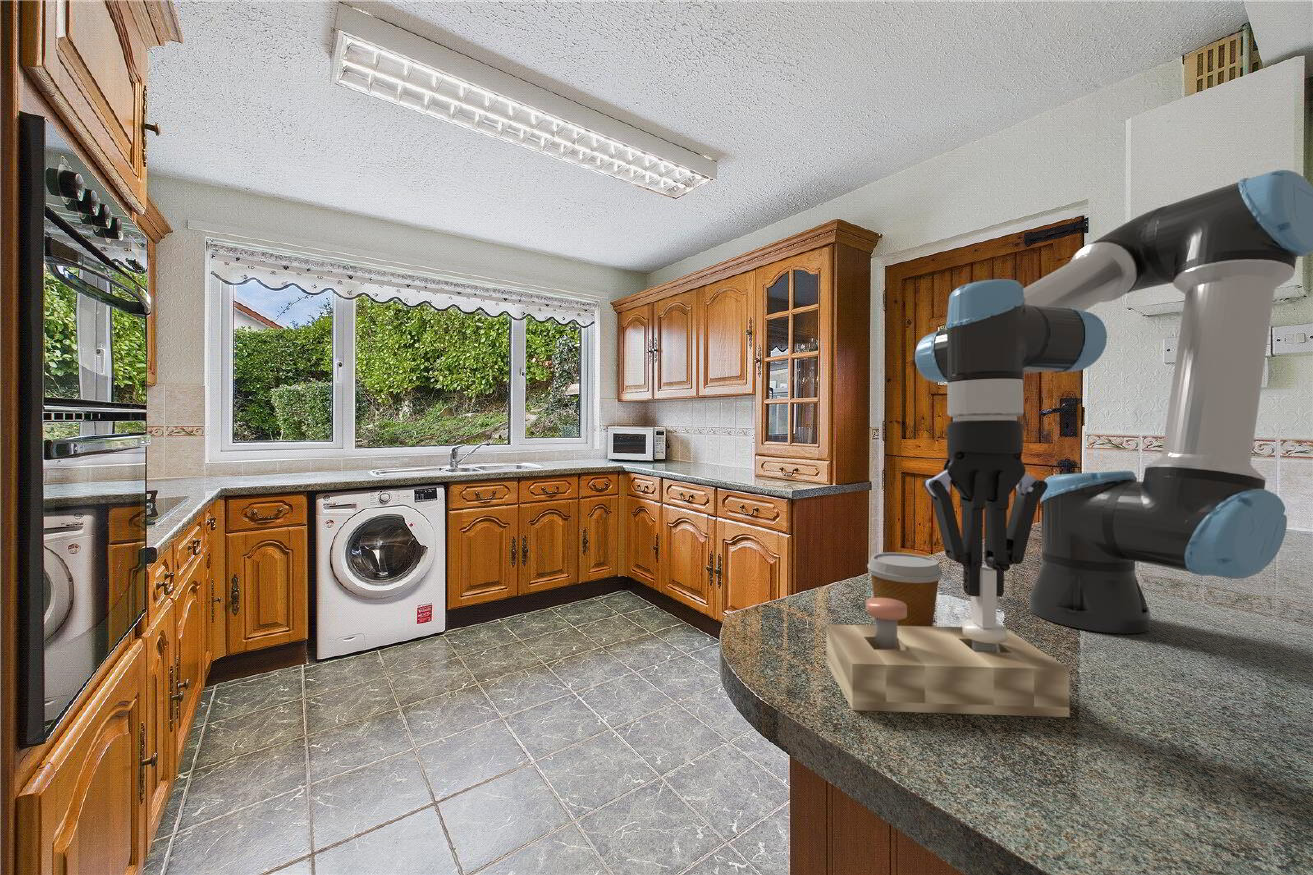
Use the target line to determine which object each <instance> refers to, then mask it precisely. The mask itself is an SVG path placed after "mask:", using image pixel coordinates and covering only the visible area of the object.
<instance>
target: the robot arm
mask: <svg viewBox="0 0 1313 875" xmlns="http://www.w3.org/2000/svg"><path fill="white" fill-rule="evenodd" d="M1312 253H1313V186H1312V184H1311V183H1310V182H1309V181H1308V179H1306V178H1305V177H1304V176H1302V175H1301V174H1299V173H1298V172H1296V171H1292V170H1289V169H1288V170H1287V169H1278V170H1272V171H1270V172H1266V173H1263V174H1259V175H1256V176H1252V177H1244V178H1242V179H1239V181H1238V182H1234V183H1232V184H1229V185H1226V186H1222V187H1220V188H1216V189H1213V190H1210V191H1208V192H1204V193H1201V194H1198V195H1195V196H1192V197H1190V198H1186V199H1182V200H1180V201H1177V202H1175V203H1171V204H1168V205H1164V206H1160V207H1158V208H1155V209H1153V210H1150V211H1147V212H1145V213H1143V214H1141V215H1139V216H1136V217H1135V218H1133V219H1131V220H1129V221H1128V222H1126V223H1124V224H1122V225H1120V226H1119V227H1116V228H1115V229H1113V230H1112V231H1109V232H1108V233H1106V234H1105V235H1103V236H1101V237H1099V238H1098V239H1096V240H1094V241H1093V242H1091V243H1089V244H1087V245H1085V246H1084V247H1082V248H1081V249H1079V250H1078V251H1076V252H1075V254H1074V255H1073V257H1072V258H1071V259H1070V262H1068V263H1066V264H1065V265H1062V267H1061V266H1060V268H1058V269H1056V270H1054V271H1053V272H1051V273H1049V274H1047V275H1045V276H1043V277H1042V278H1040V279H1038V280H1036V281H1034V282H1032V283H1031V284H1029V285H1027V286H1026V287H1024V286H1023V285H1022V284H1021V283H1020V282H1019V281H1018V280H1014V279H1008V278H1007V279H1006V278H997V279H986V280H980V281H973V282H971V283H967V284H963V285H960V286H959V287H957V288H956V289H955V288H954V290H953V291H951V293H950V295H949V297H948V305H947V314H946V315H947V316H946V322H945V328H946V329H940V330H937V331H936V332H933V333H928V334H927V335H925V336H924V337H922V339H920V341H919V342H918V344H917V346H916V349H915V353H914V362H915V364H916V367H917V370H918V372H919V374H920V375H921V376H922V377H923V378H924V379H925V380H927V381H929V382H933V383H944V382H945V383H946V382H947V388H946V391H947V392H946V394H947V395H946V396H947V397H946V398H947V402H946V403H947V404H946V406H947V408H946V413H947V416H948V417H949V418H950V417H951V418H952V421H949V422H948V424H946V452H947V459H946V461H945V463H944V465H943V471H942V472H940V473H939V474H937V475H936V476H933V477H932V478H925V479H924V480H923V482H922V485H923V487H924V489H925V491H926V492H927V493H928V494H929V495H928V496H930V498H931V500H932V504H933V508H934V513H935V515H936V520H937V524H938V525H937V526H938V529H939V532H940V537H941V542H942V544H943V549H944V553H945V555H946V557H947V558H948V559H950V560H952V561H954V562H955V563H958V564H960V565H962V570H963V572H962V573H963V575H962V577H963V578H962V579H963V580H962V581H963V582H962V583H963V587H962V589H963V591H964V593H965V594H967V595H968V596H970V619H971V620H972V621H973V622H975V623H976V624H978V625H979V626H981V627H982V628H996V623H997V598H1000V597H1003V595H1004V593H1005V572H1008V571H1009V570H1010V568H1011V565H1019V564H1022V563H1023V561H1024V557H1025V553H1026V550H1027V546H1028V542H1029V539H1030V534H1031V530H1032V527H1033V523H1034V520H1035V515H1036V511H1037V507H1038V504H1039V501H1040V504H1041V565H1040V568H1039V570H1038V573H1037V575H1036V578H1035V580H1034V583H1033V585H1032V588H1031V591H1030V593H1029V596H1028V608H1029V611H1030V612H1031V613H1033V615H1036V616H1037V617H1039V618H1042V619H1044V620H1047V621H1049V622H1052V623H1056V624H1058V625H1063V626H1066V627H1069V628H1074V629H1075V628H1076V629H1079V630H1084V631H1085V630H1086V631H1091V632H1098V633H1107V634H1110V633H1111V634H1123V635H1124V634H1125V635H1126V634H1127V635H1128V634H1130V635H1132V634H1141V633H1145V632H1148V631H1150V630H1151V625H1152V624H1151V622H1152V620H1151V618H1152V617H1151V611H1150V609H1149V607H1148V605H1147V601H1146V599H1145V596H1144V593H1143V591H1142V588H1141V586H1140V584H1139V581H1138V578H1137V575H1136V563H1137V562H1138V563H1143V564H1149V565H1153V566H1158V567H1163V568H1169V569H1173V570H1178V571H1184V572H1188V573H1191V574H1194V575H1200V576H1204V577H1208V576H1209V577H1210V576H1211V577H1217V578H1225V579H1230V580H1231V579H1232V580H1239V579H1246V578H1251V577H1253V576H1256V575H1257V574H1259V573H1260V572H1262V571H1263V570H1264V569H1265V568H1266V567H1268V566H1269V565H1270V564H1271V563H1272V562H1273V560H1274V559H1275V557H1277V555H1278V553H1279V551H1280V549H1281V547H1282V545H1283V543H1284V539H1285V536H1286V531H1287V526H1288V516H1287V515H1286V514H1285V511H1286V506H1285V504H1284V501H1282V499H1281V498H1280V497H1279V496H1278V495H1277V494H1276V493H1274V492H1270V491H1269V490H1268V489H1266V488H1265V486H1266V480H1267V479H1266V477H1265V476H1263V475H1262V473H1260V472H1259V471H1257V470H1256V468H1254V467H1253V465H1252V463H1251V462H1252V455H1253V448H1254V440H1255V433H1256V427H1257V419H1258V411H1259V405H1260V398H1261V390H1262V384H1263V376H1264V369H1265V363H1266V362H1265V361H1266V354H1267V346H1268V339H1269V333H1270V327H1271V320H1272V319H1271V318H1272V312H1273V305H1274V297H1275V290H1276V289H1278V287H1280V286H1281V285H1284V284H1285V283H1287V282H1288V281H1290V280H1291V279H1292V278H1293V277H1294V275H1295V269H1296V265H1297V264H1296V263H1297V259H1298V257H1308V256H1309V255H1310V254H1312ZM1167 284H1172V285H1173V286H1174V288H1176V289H1177V290H1179V292H1181V293H1183V294H1184V301H1183V302H1184V304H1183V308H1182V316H1181V322H1180V329H1179V335H1178V341H1177V347H1176V355H1175V364H1174V369H1173V376H1172V383H1171V389H1170V396H1169V403H1168V410H1167V416H1166V423H1165V432H1164V435H1163V444H1162V449H1161V450H1162V452H1161V456H1160V457H1159V458H1158V459H1156V460H1154V461H1152V462H1150V463H1149V464H1147V465H1145V468H1144V474H1143V475H1144V476H1143V479H1142V480H1143V481H1138V478H1137V476H1136V473H1135V472H1134V471H1132V470H1119V471H1117V470H1116V471H1101V472H1099V471H1098V472H1081V473H1080V472H1079V473H1078V472H1077V473H1063V474H1061V473H1060V474H1053V475H1049V476H1048V477H1046V478H1045V479H1044V480H1039V479H1036V478H1035V477H1033V476H1031V475H1030V474H1028V473H1027V469H1026V466H1025V464H1024V462H1023V460H1022V453H1023V451H1024V423H1022V421H1021V420H1020V421H1019V420H1018V417H1019V416H1022V415H1023V414H1024V374H1032V373H1040V372H1041V373H1043V372H1053V373H1056V374H1060V373H1061V374H1062V373H1067V372H1078V371H1082V370H1085V369H1087V368H1089V367H1091V366H1092V365H1093V364H1095V363H1096V361H1098V360H1099V359H1100V358H1101V357H1102V355H1103V353H1104V351H1105V349H1106V347H1107V343H1108V342H1107V340H1108V332H1107V328H1106V326H1105V324H1104V322H1103V321H1102V319H1101V318H1100V317H1099V316H1097V315H1096V314H1094V313H1092V312H1089V311H1087V310H1089V309H1090V308H1092V307H1093V306H1095V305H1097V304H1099V303H1106V302H1107V303H1108V302H1112V301H1115V300H1117V299H1119V298H1122V297H1123V296H1125V295H1128V294H1130V293H1132V292H1137V291H1141V290H1144V289H1148V288H1149V289H1150V288H1153V287H1158V286H1164V285H1167ZM950 484H951V485H952V486H953V487H954V489H955V491H956V492H957V493H958V494H959V505H960V507H961V531H960V527H959V524H958V520H957V516H956V512H955V509H954V502H953V500H952V499H953V498H952V497H951V495H950V491H951V485H950ZM1015 488H1016V490H1017V492H1016V494H1015V496H1014V499H1013V503H1012V507H1011V510H1010V514H1009V518H1008V522H1007V516H1008V515H1007V511H1008V510H1009V508H1010V496H1011V494H1012V492H1013V490H1014V489H1015ZM983 514H984V515H983ZM983 523H984V524H983ZM983 525H984V526H983ZM983 532H984V534H983ZM983 536H984V538H983ZM983 542H984V543H983ZM983 544H984V545H983ZM983 546H984V548H983ZM983 549H984V551H983ZM983 553H984V556H983ZM983 557H984V558H983ZM983 559H984V560H983ZM983 561H984V563H985V564H983Z"/></svg>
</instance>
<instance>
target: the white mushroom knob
mask: <svg viewBox="0 0 1313 875" xmlns="http://www.w3.org/2000/svg"><path fill="white" fill-rule="evenodd" d="M961 627H962V633H963V635H964V636H966V637H967V638H969V639H972V650H973V651H974V652H995V653H996V644H997V643H1004V642H1006V641H1007V629H1008V628H1007V627H1006V626H1004V625H1003V624H1001V623H998V622H996V628H982V627H981V626H979V625H978V624H976V623H975V622H973V621H972V620H971V618H970V619H965V620H963V621H962V625H961Z"/></svg>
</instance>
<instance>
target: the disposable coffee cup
mask: <svg viewBox="0 0 1313 875" xmlns="http://www.w3.org/2000/svg"><path fill="white" fill-rule="evenodd" d="M866 566H867V569H868V572H869V573H870V577H871V584H872V591H873V592H872V593H873V598H890V599H895V600H899V601H902V602H904V603H905V604H906V605H907V617H906V618H904V619H900V620H897V626H932V627H933V624H934V615H935V608H936V602H937V594H938V586H939V580H940V579H941V576H942V575H943V570H942V569H941V568H940V562H939V561H938V560H937V559H935V558H932V557H930V556H926V555H922V554H916V553H908V552H879V553H875V554H872V555H870V559H869V563H867V565H866Z"/></svg>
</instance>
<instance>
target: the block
mask: <svg viewBox="0 0 1313 875" xmlns="http://www.w3.org/2000/svg"><path fill="white" fill-rule="evenodd" d="M825 627H826V631H825V632H826V634H825V635H826V643H825V644H826V650H825V651H826V652H825V653H826V654H825V656H826V665H827V667H828V669H829V671H830V672H831V674H832V676H833V677H834V679H835V681H836V683H837V685H838V687H839V688H840V690H841V693H842V694H843V696H844V697H845V699H846V701H847V702H848V705H849V706H850V708H851V710H852V711H862V712H863V711H865V712H866V711H867V712H893V713H896V712H898V713H927V714H928V713H929V714H955V715H956V714H960V715H989V716H991V715H993V716H1022V717H1023V716H1024V717H1025V716H1027V717H1028V716H1029V717H1049V718H1050V717H1054V718H1065V717H1066V718H1070V668H1068V667H1067V666H1065V665H1064V664H1062V663H1060V662H1059V661H1058V660H1056V659H1054V658H1053V657H1052V656H1050V655H1048V654H1046V653H1045V652H1043V651H1042V650H1040V649H1038V648H1037V647H1036V646H1034V645H1033V644H1031V643H1029V642H1028V641H1026V640H1025V639H1024V638H1021V637H1020V636H1018V635H1017V634H1016V633H1014V632H1012V631H1011V630H1009V629H1008V628H1007V641H1006V642H1004V643H997V644H996V653H995V652H974V651H973V650H972V639H969V638H967V637H966V636H964V635H963V633H962V626H933V625H932V626H897V648H895V649H884V648H881V647H878V646H876V645H875V624H874V625H873V624H872V625H871V624H866V625H865V624H829V623H828V624H826V626H825Z"/></svg>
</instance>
